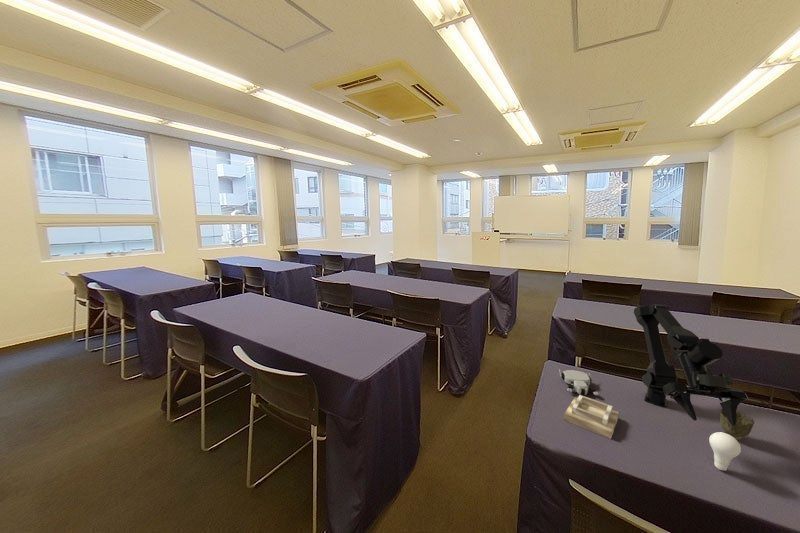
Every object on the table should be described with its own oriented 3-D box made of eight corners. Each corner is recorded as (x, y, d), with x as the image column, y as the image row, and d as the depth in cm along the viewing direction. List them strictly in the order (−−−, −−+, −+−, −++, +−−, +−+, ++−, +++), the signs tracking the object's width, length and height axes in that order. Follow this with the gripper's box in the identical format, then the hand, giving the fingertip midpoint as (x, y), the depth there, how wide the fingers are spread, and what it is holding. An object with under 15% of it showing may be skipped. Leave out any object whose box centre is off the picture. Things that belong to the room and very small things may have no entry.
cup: (739, 432, 101) (743, 411, 100) (756, 448, 94) (761, 425, 93) (711, 427, 104) (714, 406, 102) (725, 442, 97) (729, 420, 95)
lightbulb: (699, 461, 89) (704, 428, 88) (717, 460, 90) (723, 426, 88) (722, 479, 83) (729, 443, 82) (742, 477, 84) (749, 441, 82)
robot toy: (600, 401, 120) (588, 380, 134) (601, 391, 119) (589, 370, 133) (565, 397, 124) (557, 376, 138) (566, 387, 122) (558, 367, 137)
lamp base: (574, 402, 118) (575, 390, 117) (618, 418, 109) (619, 405, 108) (563, 420, 108) (565, 407, 107) (610, 439, 98) (612, 425, 98)
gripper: (673, 358, 94) (691, 411, 85) (748, 365, 89) (776, 423, 81) (656, 369, 103) (671, 419, 94) (724, 377, 98) (746, 430, 89)
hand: (714, 423), depth 89 cm, fingers open, 9 cm apart
